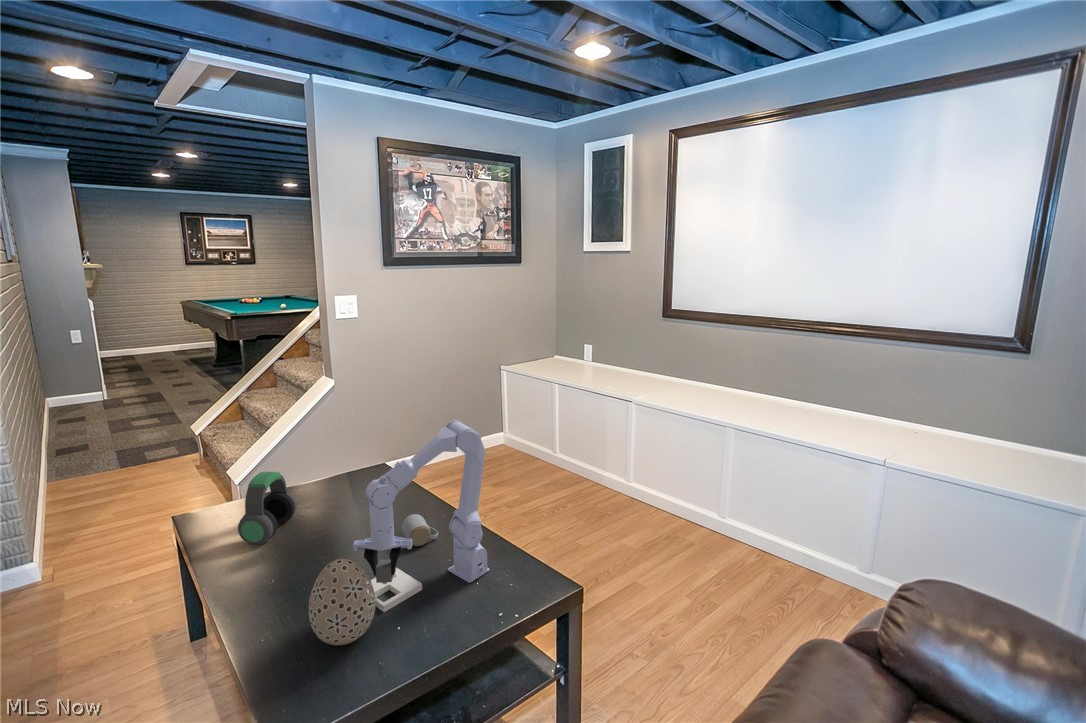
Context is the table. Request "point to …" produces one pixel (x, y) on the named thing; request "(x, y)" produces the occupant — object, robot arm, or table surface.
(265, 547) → the table surface
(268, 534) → the headphones
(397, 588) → the socket
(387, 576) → the plug
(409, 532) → the ceramic mug
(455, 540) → the robot arm
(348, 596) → the ornament
